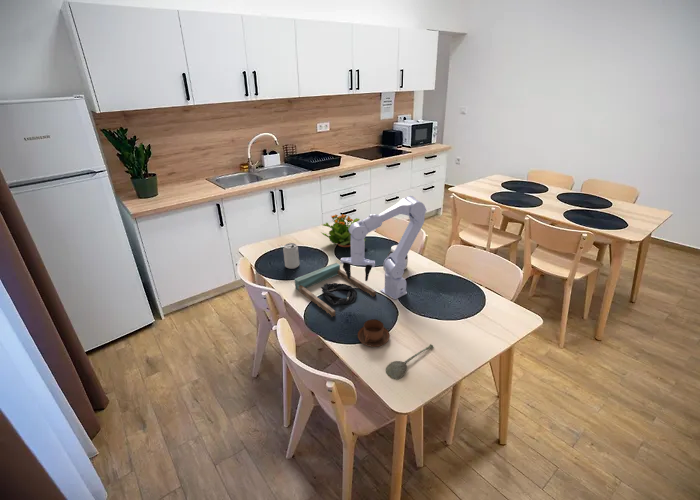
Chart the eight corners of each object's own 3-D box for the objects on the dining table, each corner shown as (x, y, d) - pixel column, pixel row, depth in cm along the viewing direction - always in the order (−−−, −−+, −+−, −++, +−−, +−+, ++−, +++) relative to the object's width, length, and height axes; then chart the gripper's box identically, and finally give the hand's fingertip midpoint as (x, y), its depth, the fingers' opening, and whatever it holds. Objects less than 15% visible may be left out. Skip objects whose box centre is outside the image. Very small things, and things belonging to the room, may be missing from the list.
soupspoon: (381, 373, 121) (395, 385, 116) (381, 366, 119) (395, 378, 114) (425, 343, 132) (439, 353, 128) (425, 336, 130) (440, 346, 126)
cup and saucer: (387, 351, 128) (388, 338, 126) (354, 347, 131) (354, 334, 128) (391, 330, 139) (391, 317, 136) (360, 326, 141) (360, 314, 138)
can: (298, 269, 183) (296, 248, 178) (283, 269, 183) (281, 248, 178) (300, 262, 190) (298, 242, 184) (286, 262, 190) (284, 242, 184)
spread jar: (406, 265, 185) (408, 244, 180) (407, 276, 175) (409, 255, 170) (383, 264, 186) (383, 244, 181) (383, 275, 176) (383, 254, 171)
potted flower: (374, 241, 211) (374, 213, 203) (353, 257, 193) (352, 227, 186) (339, 233, 223) (338, 206, 216) (316, 247, 205) (314, 219, 198)
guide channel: (375, 295, 160) (375, 286, 158) (332, 317, 147) (332, 307, 145) (336, 271, 180) (336, 262, 178) (295, 288, 167) (294, 278, 165)
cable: (316, 291, 165) (315, 283, 163) (342, 282, 171) (342, 274, 170) (334, 309, 152) (333, 301, 150) (362, 299, 158) (362, 291, 156)
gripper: (376, 248, 151) (376, 276, 157) (343, 245, 154) (344, 272, 160) (373, 255, 144) (373, 284, 150) (338, 252, 148) (339, 280, 154)
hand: (357, 279), depth 155 cm, fingers open, 7 cm apart
